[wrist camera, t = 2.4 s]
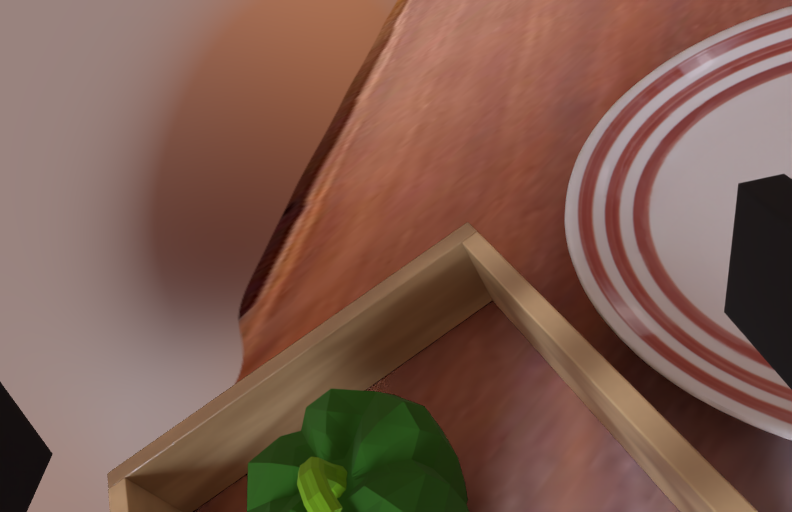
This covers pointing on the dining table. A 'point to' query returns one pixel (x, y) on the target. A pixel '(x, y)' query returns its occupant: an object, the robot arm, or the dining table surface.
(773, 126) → the dinner plate
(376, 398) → the bell pepper
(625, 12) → the dining table surface
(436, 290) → the crate
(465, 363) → the dining table surface
